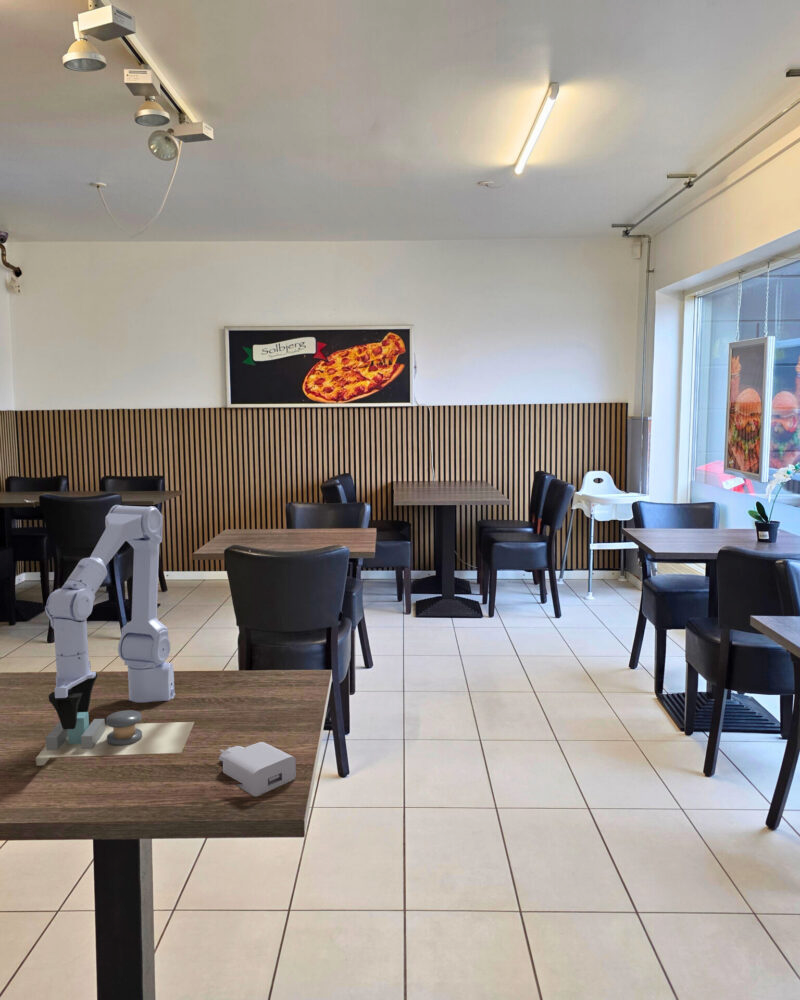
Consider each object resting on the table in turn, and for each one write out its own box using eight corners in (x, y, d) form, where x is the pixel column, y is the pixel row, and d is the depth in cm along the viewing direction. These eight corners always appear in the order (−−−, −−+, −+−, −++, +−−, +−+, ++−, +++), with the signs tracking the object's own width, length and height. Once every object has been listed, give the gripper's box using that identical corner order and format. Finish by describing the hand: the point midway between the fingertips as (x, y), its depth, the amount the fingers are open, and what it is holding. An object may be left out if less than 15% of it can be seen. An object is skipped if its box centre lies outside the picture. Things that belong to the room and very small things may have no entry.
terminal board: (194, 728, 159) (194, 721, 158) (181, 760, 145) (181, 752, 145) (62, 733, 156) (62, 726, 156) (36, 765, 143) (35, 757, 142)
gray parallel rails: (105, 730, 154) (104, 718, 154) (92, 748, 146) (92, 735, 146) (61, 732, 153) (60, 720, 153) (46, 750, 145) (45, 737, 145)
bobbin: (145, 731, 154) (144, 709, 153) (137, 745, 148) (136, 723, 147) (112, 732, 153) (111, 710, 153) (102, 746, 147) (101, 724, 146)
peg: (89, 736, 151) (88, 711, 151) (84, 743, 148) (83, 718, 148) (73, 737, 151) (72, 712, 150) (68, 743, 148) (67, 718, 147)
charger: (245, 753, 148) (296, 780, 138) (203, 770, 141) (253, 799, 131) (245, 730, 147) (295, 754, 137) (202, 745, 141) (252, 772, 131)
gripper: (81, 663, 141) (85, 735, 142) (104, 639, 155) (108, 704, 157) (41, 665, 140) (45, 736, 142) (68, 640, 154) (71, 705, 156)
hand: (75, 720), depth 149 cm, fingers open, 7 cm apart
